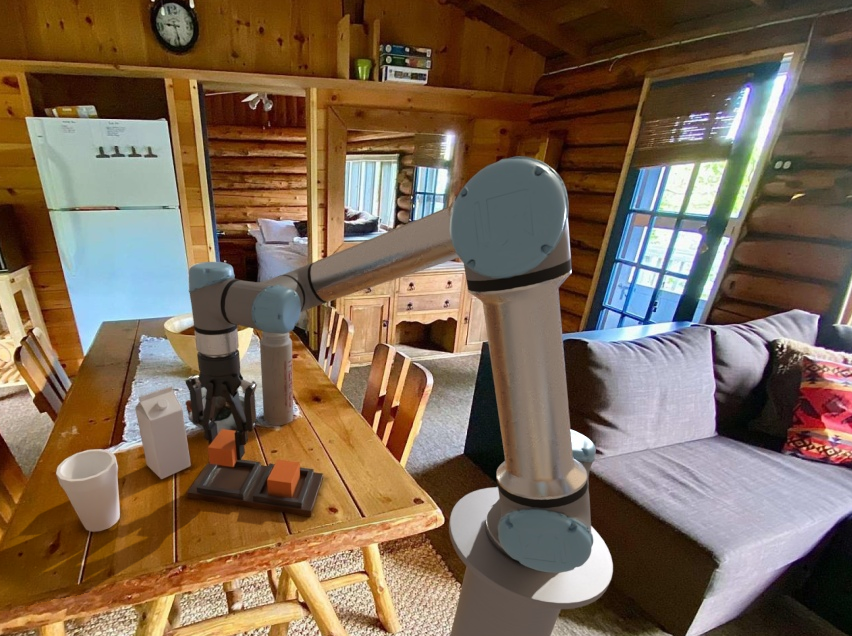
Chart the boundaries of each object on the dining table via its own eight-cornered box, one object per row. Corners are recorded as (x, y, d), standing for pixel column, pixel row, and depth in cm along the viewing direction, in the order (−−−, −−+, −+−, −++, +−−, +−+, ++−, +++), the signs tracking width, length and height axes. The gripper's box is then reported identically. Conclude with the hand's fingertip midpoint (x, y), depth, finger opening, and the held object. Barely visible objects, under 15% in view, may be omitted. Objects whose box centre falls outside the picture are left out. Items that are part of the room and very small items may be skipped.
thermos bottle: (299, 415, 121) (298, 317, 108) (281, 428, 115) (278, 326, 102) (276, 407, 124) (272, 311, 112) (257, 419, 118) (251, 319, 106)
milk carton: (146, 465, 99) (131, 391, 91) (175, 453, 104) (164, 380, 95) (161, 480, 95) (146, 403, 86) (191, 466, 99) (180, 392, 91)
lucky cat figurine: (233, 448, 106) (199, 406, 99) (201, 450, 113) (167, 411, 106) (263, 406, 116) (233, 365, 109) (231, 410, 123) (202, 372, 116)
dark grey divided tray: (323, 478, 97) (323, 468, 96) (311, 516, 86) (311, 506, 85) (211, 463, 101) (210, 453, 99) (187, 498, 90) (185, 487, 89)
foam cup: (139, 508, 87) (126, 454, 81) (105, 542, 79) (88, 486, 73) (99, 498, 89) (84, 445, 83) (62, 530, 81) (43, 474, 75)
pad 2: (300, 477, 95) (299, 462, 93) (291, 498, 89) (291, 483, 87) (277, 474, 95) (277, 459, 94) (267, 495, 89) (266, 479, 87)
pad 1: (245, 447, 94) (244, 431, 92) (233, 467, 88) (231, 450, 86) (223, 444, 95) (221, 428, 93) (209, 463, 88) (207, 447, 87)
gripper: (271, 347, 82) (275, 449, 93) (182, 338, 85) (195, 439, 96) (258, 363, 76) (263, 471, 86) (161, 352, 78) (178, 459, 89)
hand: (227, 454), depth 91 cm, fingers closed on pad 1, 5 cm apart
